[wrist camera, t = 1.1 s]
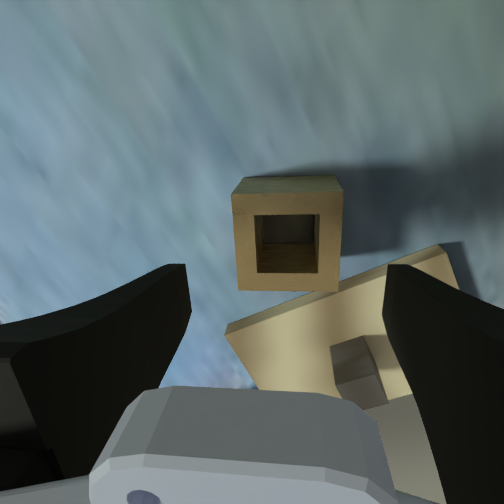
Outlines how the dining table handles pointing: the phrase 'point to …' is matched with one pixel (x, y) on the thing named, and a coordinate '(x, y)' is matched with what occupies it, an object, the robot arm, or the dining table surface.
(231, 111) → the dining table surface
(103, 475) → the robot arm
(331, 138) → the dining table surface
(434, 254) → the post stand
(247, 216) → the collar
